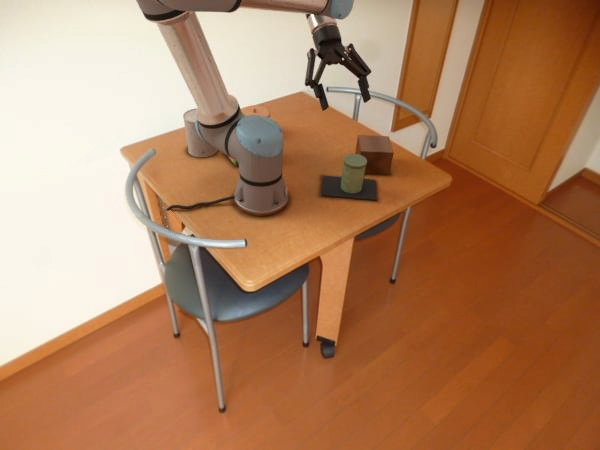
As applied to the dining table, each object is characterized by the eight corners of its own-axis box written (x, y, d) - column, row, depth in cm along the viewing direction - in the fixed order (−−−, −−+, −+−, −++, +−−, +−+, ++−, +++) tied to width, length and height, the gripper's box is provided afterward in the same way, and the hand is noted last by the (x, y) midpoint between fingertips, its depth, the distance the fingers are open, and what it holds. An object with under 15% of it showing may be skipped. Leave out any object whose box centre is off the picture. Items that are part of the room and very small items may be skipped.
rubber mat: (321, 196, 121) (321, 194, 121) (322, 176, 129) (323, 175, 129) (376, 200, 121) (376, 199, 121) (374, 181, 128) (374, 179, 128)
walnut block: (357, 173, 131) (361, 151, 126) (354, 156, 139) (357, 134, 134) (389, 174, 131) (393, 152, 126) (384, 157, 139) (388, 136, 134)
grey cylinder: (183, 154, 135) (177, 119, 127) (195, 140, 142) (191, 106, 134) (210, 159, 133) (207, 124, 125) (222, 144, 140) (219, 110, 132)
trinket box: (272, 126, 151) (272, 102, 145) (267, 141, 143) (267, 116, 137) (243, 124, 152) (242, 99, 146) (236, 138, 144) (235, 113, 138)
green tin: (339, 192, 122) (343, 165, 116) (339, 179, 127) (343, 152, 121) (362, 194, 122) (367, 167, 116) (361, 181, 127) (366, 154, 121)
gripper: (356, 34, 123) (376, 102, 123) (279, 42, 114) (301, 117, 114) (369, 19, 116) (391, 92, 116) (288, 27, 107) (312, 106, 107)
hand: (347, 104), depth 115 cm, fingers open, 13 cm apart
